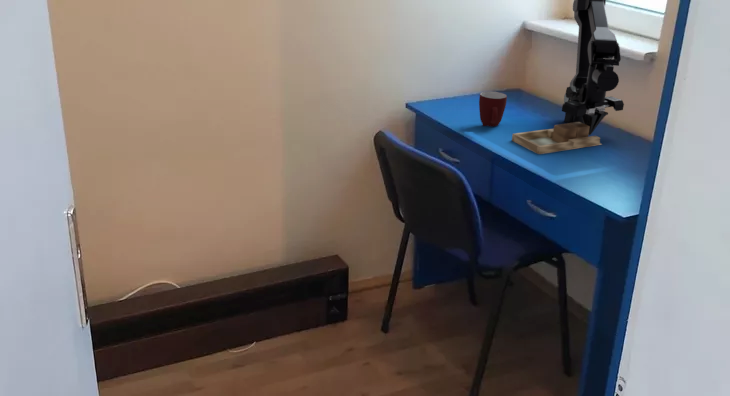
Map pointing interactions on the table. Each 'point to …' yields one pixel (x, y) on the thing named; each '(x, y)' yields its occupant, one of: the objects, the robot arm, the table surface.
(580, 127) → the brown cube
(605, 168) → the table surface
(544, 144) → the slot board
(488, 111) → the mug
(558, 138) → the brown wooden cube
